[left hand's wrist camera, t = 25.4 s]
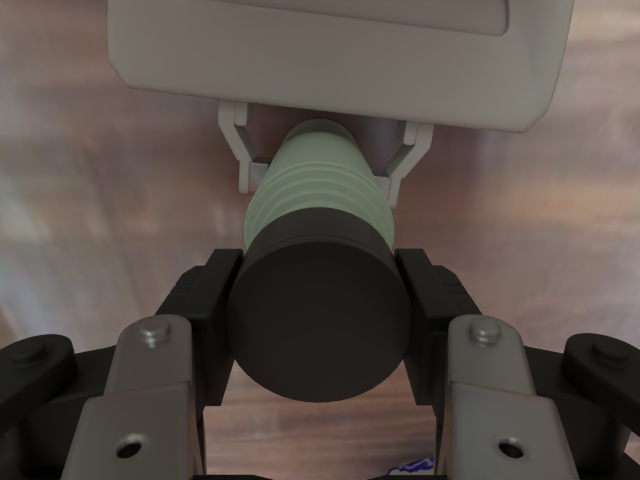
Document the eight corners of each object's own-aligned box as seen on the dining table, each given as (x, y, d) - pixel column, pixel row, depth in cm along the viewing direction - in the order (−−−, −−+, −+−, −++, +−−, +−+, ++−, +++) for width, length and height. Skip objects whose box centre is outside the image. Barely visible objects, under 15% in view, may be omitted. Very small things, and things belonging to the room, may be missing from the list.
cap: (267, 357, 13) (256, 417, 10) (220, 227, 11) (195, 266, 9) (408, 327, 12) (427, 383, 10) (379, 188, 11) (395, 219, 9)
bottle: (376, 162, 28) (475, 320, 10) (316, 214, 29) (312, 433, 11) (322, 100, 26) (327, 155, 9) (262, 157, 28) (159, 307, 10)
